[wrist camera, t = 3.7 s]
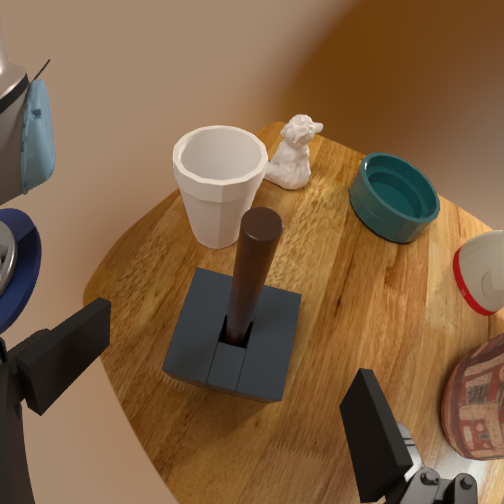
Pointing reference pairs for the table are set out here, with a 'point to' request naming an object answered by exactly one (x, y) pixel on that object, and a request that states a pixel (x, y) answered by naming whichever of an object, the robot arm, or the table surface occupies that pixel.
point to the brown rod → (251, 268)
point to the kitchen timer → (482, 272)
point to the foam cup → (218, 180)
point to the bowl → (393, 197)
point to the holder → (228, 356)
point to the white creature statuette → (293, 154)
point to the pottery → (476, 403)
